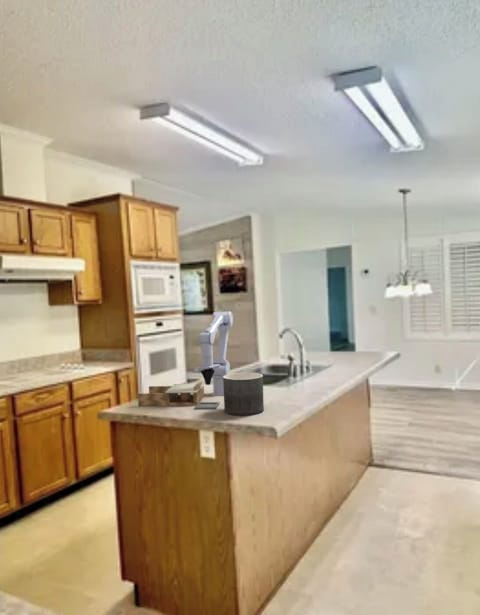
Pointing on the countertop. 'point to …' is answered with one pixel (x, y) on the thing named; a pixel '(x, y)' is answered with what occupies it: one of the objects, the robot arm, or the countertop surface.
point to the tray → (207, 405)
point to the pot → (185, 397)
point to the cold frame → (167, 397)
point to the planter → (243, 393)
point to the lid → (185, 388)
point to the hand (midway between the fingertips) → (208, 384)
